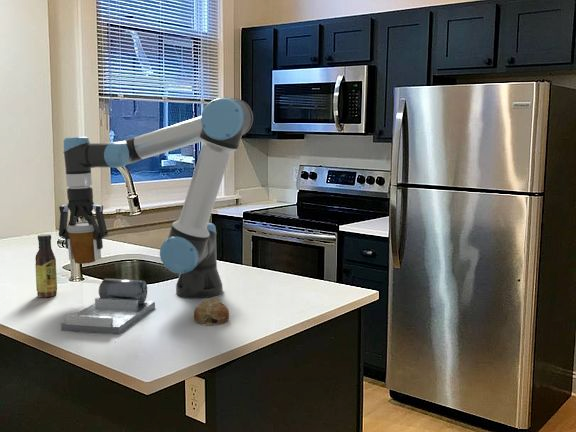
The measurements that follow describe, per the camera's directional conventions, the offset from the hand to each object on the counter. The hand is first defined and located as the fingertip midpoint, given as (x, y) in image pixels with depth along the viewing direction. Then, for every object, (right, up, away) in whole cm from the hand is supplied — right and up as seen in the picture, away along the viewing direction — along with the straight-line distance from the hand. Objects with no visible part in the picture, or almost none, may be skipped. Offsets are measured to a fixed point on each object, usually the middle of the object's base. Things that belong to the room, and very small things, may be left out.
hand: (85, 258), depth 204 cm
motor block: (+13, -16, -18) cm, 27 cm away
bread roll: (+42, -16, -19) cm, 49 cm away
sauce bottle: (-14, -12, +6) cm, 20 cm away
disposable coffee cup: (0, -1, 0) cm, 1 cm away
